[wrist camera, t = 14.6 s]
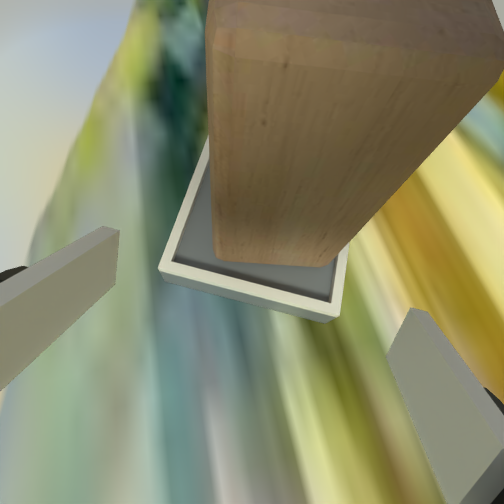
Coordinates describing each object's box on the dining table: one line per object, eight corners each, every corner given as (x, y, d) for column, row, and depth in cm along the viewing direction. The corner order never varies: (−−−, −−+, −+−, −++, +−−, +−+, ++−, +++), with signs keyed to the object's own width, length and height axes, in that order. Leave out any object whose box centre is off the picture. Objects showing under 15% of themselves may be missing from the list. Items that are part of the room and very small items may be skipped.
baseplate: (345, 188, 35) (359, 167, 32) (325, 323, 30) (339, 315, 26) (211, 153, 35) (211, 127, 32) (165, 281, 30) (158, 267, 26)
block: (220, 166, 31) (224, -147, 13) (322, 175, 32) (464, -108, 14) (212, 264, 27) (200, 20, 9) (327, 272, 28) (535, 60, 10)
